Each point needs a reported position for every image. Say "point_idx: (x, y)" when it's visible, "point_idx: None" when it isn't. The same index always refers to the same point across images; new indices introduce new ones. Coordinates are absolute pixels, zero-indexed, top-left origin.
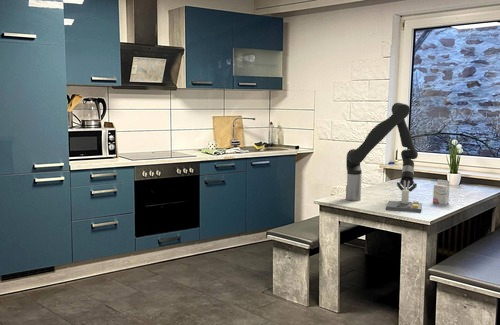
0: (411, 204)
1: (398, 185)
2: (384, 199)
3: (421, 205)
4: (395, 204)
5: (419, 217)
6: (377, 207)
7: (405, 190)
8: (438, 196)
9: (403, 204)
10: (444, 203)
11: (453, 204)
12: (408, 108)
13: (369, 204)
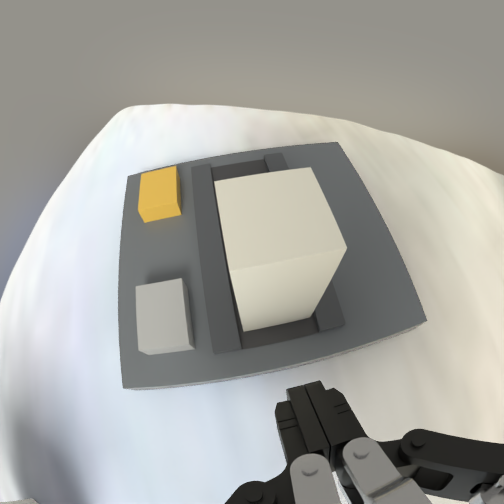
0: (201, 276)
1: (494, 446)
2: None
3: (120, 280)
4: None
5: (149, 119)
6: (398, 184)
7: (270, 198)
8: None
9: None
10: (32, 502)
11: (8, 499)
12: None
13: (467, 233)
